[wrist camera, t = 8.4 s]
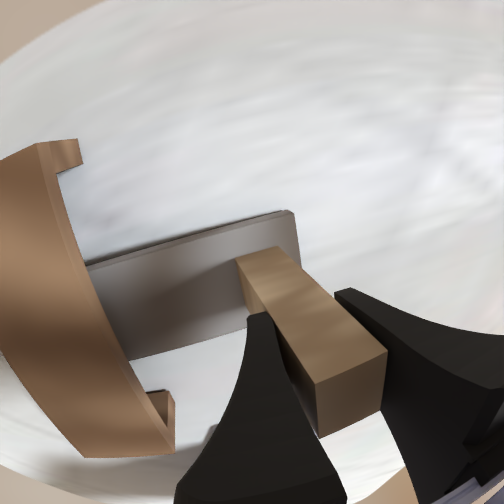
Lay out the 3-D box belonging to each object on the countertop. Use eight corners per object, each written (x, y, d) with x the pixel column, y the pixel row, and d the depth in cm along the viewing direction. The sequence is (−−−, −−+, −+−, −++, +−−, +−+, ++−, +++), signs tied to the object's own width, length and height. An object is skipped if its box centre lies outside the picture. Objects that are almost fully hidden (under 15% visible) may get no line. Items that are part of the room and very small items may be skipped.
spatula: (287, 209, 14) (423, 294, 7) (300, 300, 16) (400, 417, 8) (44, 280, 12) (-35, 418, 4) (86, 361, 14) (64, 507, 6)
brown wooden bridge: (175, 402, 18) (175, 453, 14) (94, 411, 17) (84, 457, 14) (77, 138, 12) (36, 143, 8) (-15, 180, 11) (-64, 198, 7)
